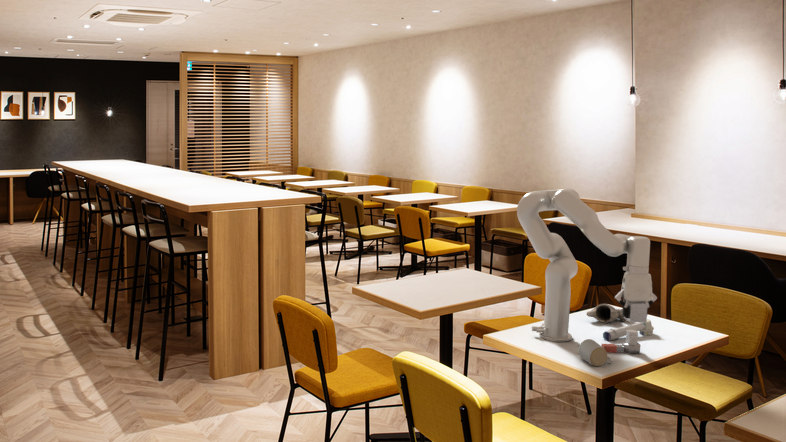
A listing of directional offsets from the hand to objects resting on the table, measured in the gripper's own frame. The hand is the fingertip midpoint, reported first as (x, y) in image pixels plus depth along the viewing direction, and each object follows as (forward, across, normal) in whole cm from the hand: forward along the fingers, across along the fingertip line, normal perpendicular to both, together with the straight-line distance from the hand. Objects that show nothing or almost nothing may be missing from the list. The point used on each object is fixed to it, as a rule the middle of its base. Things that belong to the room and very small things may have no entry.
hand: (634, 317), depth 224 cm
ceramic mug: (+14, -18, -12) cm, 26 cm away
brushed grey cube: (+1, 0, 0) cm, 1 cm away
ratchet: (+13, -4, 0) cm, 14 cm away
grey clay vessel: (+13, +6, +39) cm, 42 cm away
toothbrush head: (+14, +6, +18) cm, 24 cm away
